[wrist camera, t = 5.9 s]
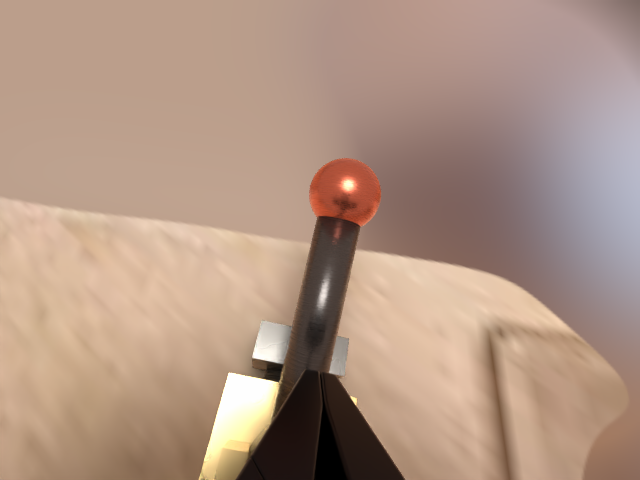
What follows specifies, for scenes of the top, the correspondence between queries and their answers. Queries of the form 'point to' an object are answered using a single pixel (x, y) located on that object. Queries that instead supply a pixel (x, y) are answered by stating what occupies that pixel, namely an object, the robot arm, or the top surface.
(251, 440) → the valve pipe
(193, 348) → the top surface
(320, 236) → the valve lever
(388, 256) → the top surface
